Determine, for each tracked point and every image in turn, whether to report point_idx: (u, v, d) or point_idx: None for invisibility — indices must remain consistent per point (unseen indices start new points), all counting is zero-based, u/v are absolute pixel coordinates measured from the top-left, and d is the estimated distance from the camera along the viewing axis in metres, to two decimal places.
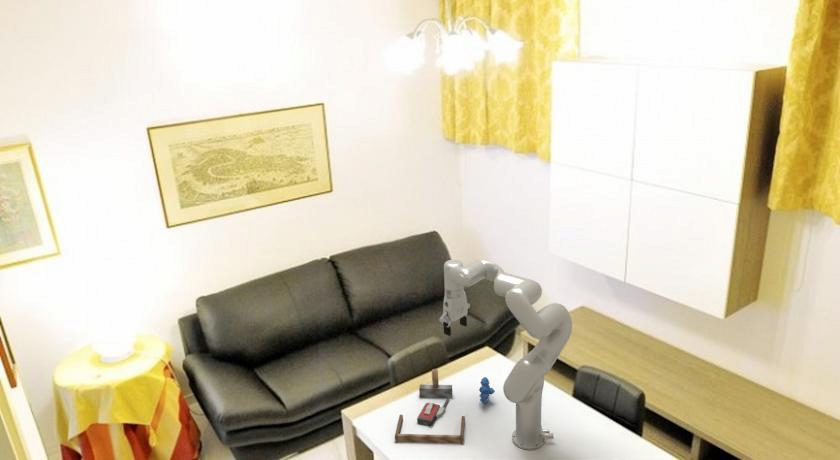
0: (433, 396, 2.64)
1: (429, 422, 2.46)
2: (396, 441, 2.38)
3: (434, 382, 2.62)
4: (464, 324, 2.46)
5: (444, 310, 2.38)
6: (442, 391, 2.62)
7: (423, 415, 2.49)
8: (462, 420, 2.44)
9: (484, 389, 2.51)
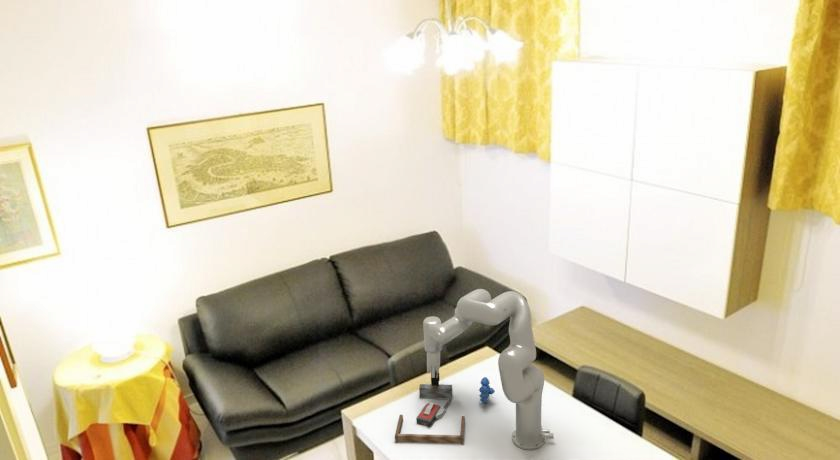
0: (433, 396, 2.64)
1: (428, 422, 2.45)
2: (396, 441, 2.38)
3: None
4: None
5: None
6: (442, 390, 2.62)
7: (422, 415, 2.49)
8: (462, 420, 2.44)
9: (484, 389, 2.51)
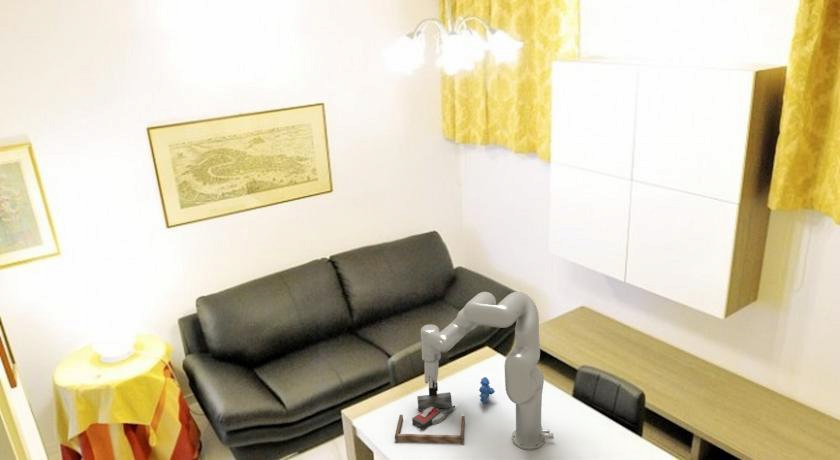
0: (432, 406, 2.55)
1: (421, 425, 2.44)
2: (396, 441, 2.38)
3: None
4: None
5: None
6: (441, 399, 2.54)
7: (419, 417, 2.47)
8: (462, 420, 2.44)
9: (484, 389, 2.51)
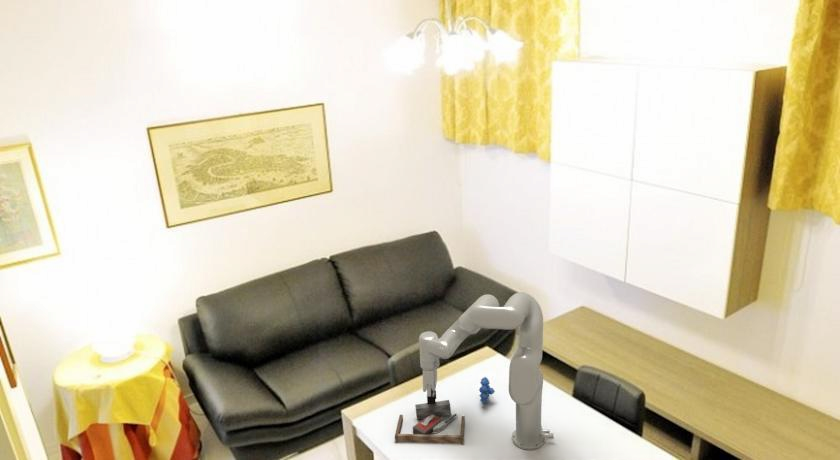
0: None
1: None
2: (396, 441, 2.38)
3: None
4: None
5: None
6: (440, 408, 2.49)
7: (419, 425, 2.42)
8: (462, 420, 2.44)
9: (484, 389, 2.51)
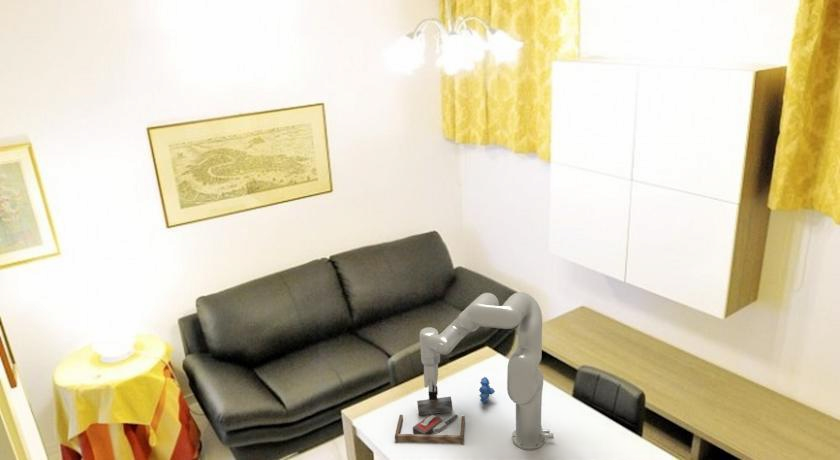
0: (433, 411, 2.51)
1: None
2: (396, 441, 2.38)
3: None
4: None
5: None
6: (442, 404, 2.51)
7: (419, 426, 2.42)
8: (462, 420, 2.44)
9: (484, 389, 2.51)
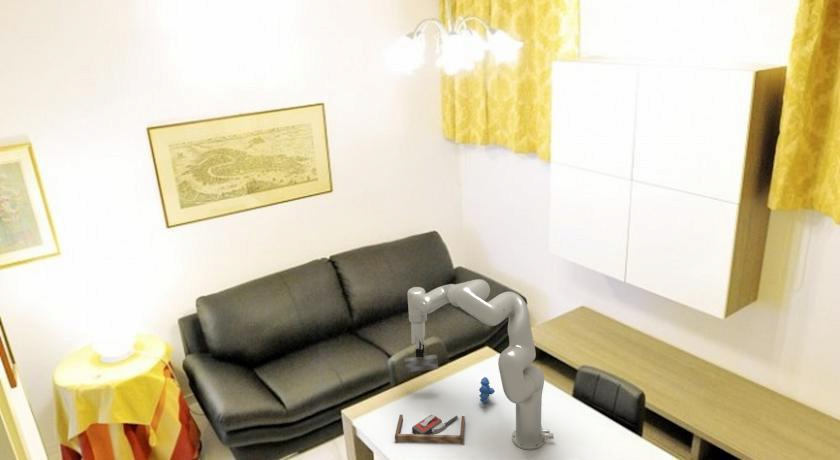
0: (419, 368, 2.62)
1: None
2: (396, 441, 2.38)
3: None
4: None
5: None
6: (428, 361, 2.61)
7: (419, 426, 2.42)
8: (462, 420, 2.44)
9: (484, 389, 2.51)
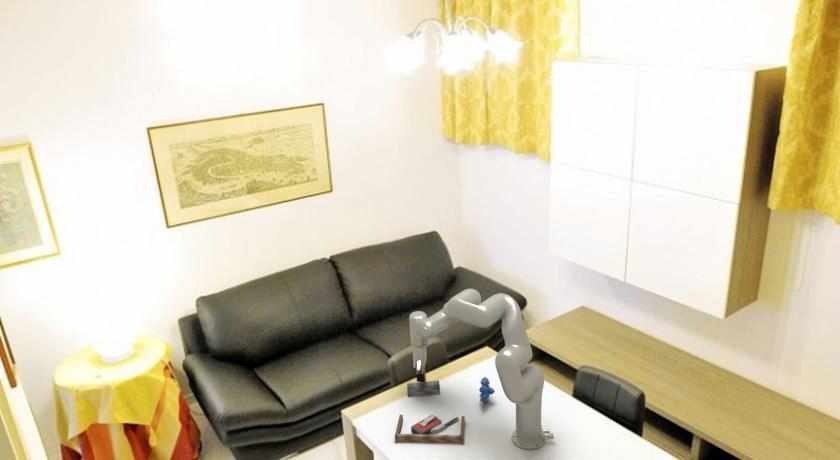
0: (421, 393, 2.66)
1: None
2: (396, 441, 2.38)
3: None
4: None
5: None
6: (430, 387, 2.65)
7: (418, 425, 2.43)
8: (462, 420, 2.44)
9: (484, 389, 2.51)
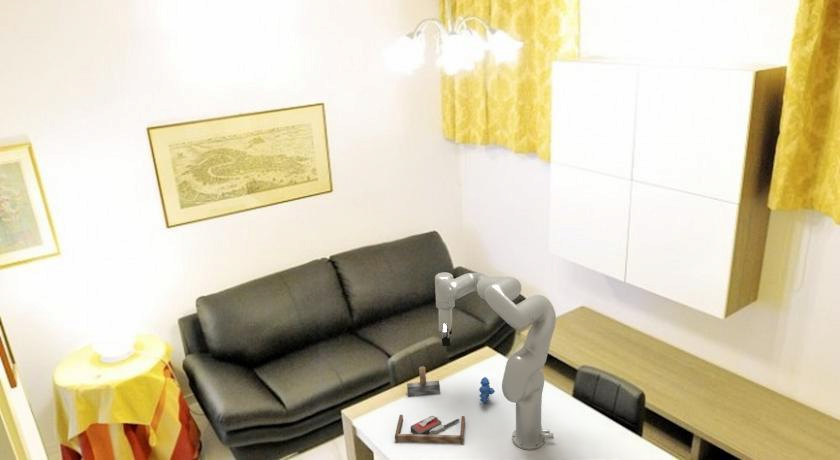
0: (421, 393, 2.66)
1: None
2: (396, 441, 2.38)
3: (422, 379, 2.64)
4: None
5: None
6: (430, 387, 2.65)
7: (417, 425, 2.43)
8: (462, 420, 2.44)
9: (484, 389, 2.51)
